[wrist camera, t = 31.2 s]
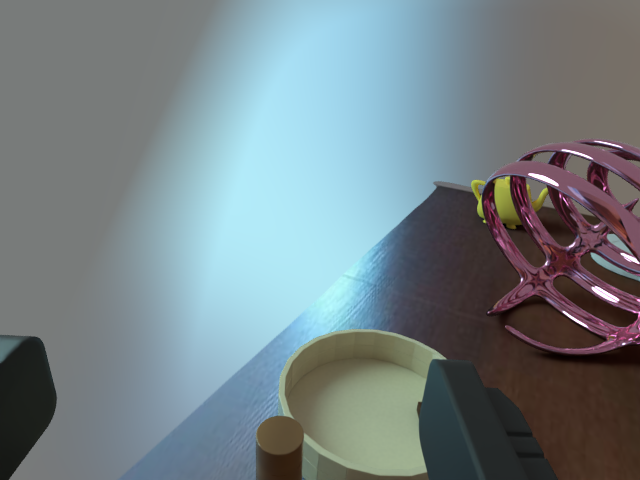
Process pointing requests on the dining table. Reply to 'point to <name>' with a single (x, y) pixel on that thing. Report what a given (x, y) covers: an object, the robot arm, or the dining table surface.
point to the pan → (358, 404)
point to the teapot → (506, 201)
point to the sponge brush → (279, 449)
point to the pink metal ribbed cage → (588, 238)
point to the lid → (611, 267)
